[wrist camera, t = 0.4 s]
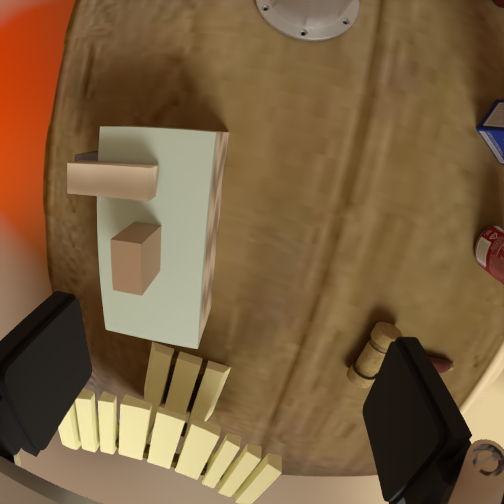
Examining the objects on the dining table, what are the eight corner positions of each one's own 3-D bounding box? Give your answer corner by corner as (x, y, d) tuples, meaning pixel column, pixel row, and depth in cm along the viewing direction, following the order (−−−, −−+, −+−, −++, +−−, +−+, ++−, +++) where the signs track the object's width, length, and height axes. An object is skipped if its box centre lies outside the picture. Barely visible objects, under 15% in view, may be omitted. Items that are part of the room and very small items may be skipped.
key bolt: (80, 160, 29) (67, 163, 26) (159, 165, 29) (149, 168, 26) (80, 188, 30) (67, 193, 27) (157, 195, 30) (148, 201, 27)
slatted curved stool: (102, 384, 53) (64, 452, 36) (105, 322, 47) (51, 396, 31) (250, 432, 55) (243, 511, 38) (281, 380, 49) (281, 472, 33)
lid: (105, 126, 29) (69, 128, 22) (218, 132, 29) (203, 132, 22) (109, 324, 37) (86, 355, 31) (199, 343, 37) (187, 380, 31)
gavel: (474, 353, 42) (443, 395, 46) (462, 338, 47) (434, 379, 50) (382, 336, 40) (350, 387, 44) (372, 318, 44) (343, 367, 48)
